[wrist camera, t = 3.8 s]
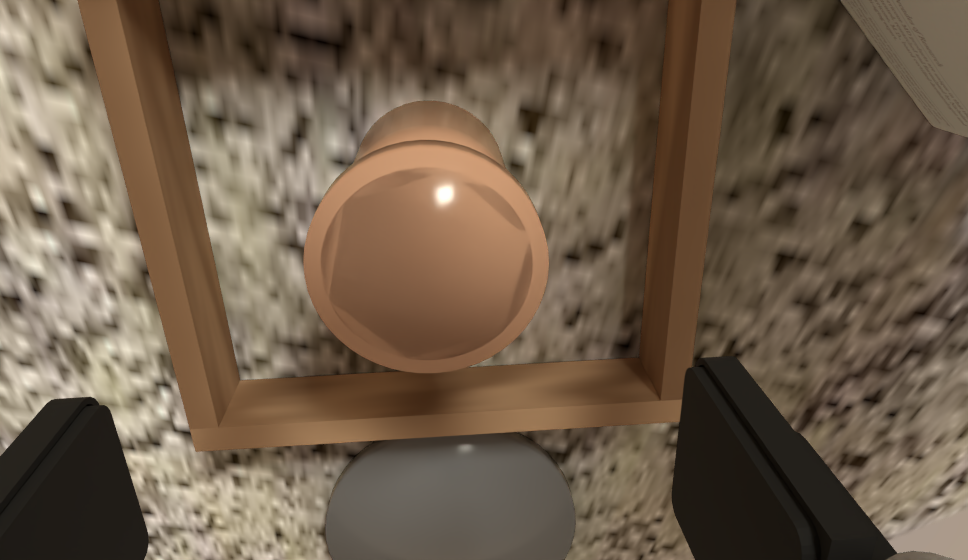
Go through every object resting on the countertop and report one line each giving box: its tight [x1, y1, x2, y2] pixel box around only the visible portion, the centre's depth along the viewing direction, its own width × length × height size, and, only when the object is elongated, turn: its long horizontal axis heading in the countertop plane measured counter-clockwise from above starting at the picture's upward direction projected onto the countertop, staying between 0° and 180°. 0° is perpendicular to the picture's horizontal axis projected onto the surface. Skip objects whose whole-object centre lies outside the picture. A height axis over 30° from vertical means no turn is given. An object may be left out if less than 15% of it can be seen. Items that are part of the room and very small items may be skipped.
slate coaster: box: [325, 432, 576, 560], centre depth 31 cm, size 11×11×1 cm
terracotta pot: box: [304, 101, 549, 373], centre depth 20 cm, size 6×6×8 cm
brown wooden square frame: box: [78, 0, 736, 452], centre depth 22 cm, size 18×18×4 cm
